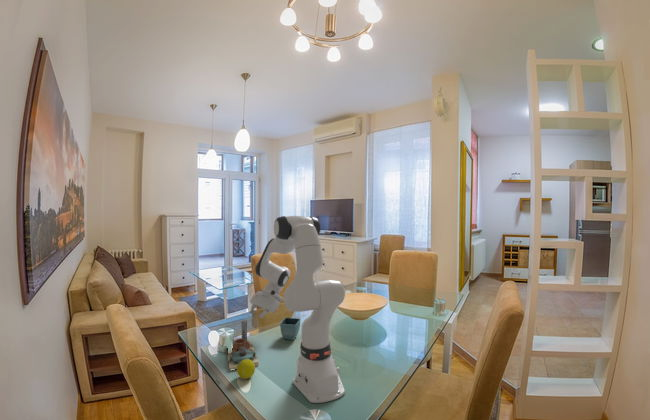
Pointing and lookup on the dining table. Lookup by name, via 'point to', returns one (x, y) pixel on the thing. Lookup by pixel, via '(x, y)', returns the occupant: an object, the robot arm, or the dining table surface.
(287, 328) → the flower pot
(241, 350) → the gear board
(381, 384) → the dining table surface
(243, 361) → the tennis ball
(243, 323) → the axle pin
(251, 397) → the dining table surface
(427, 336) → the dining table surface
